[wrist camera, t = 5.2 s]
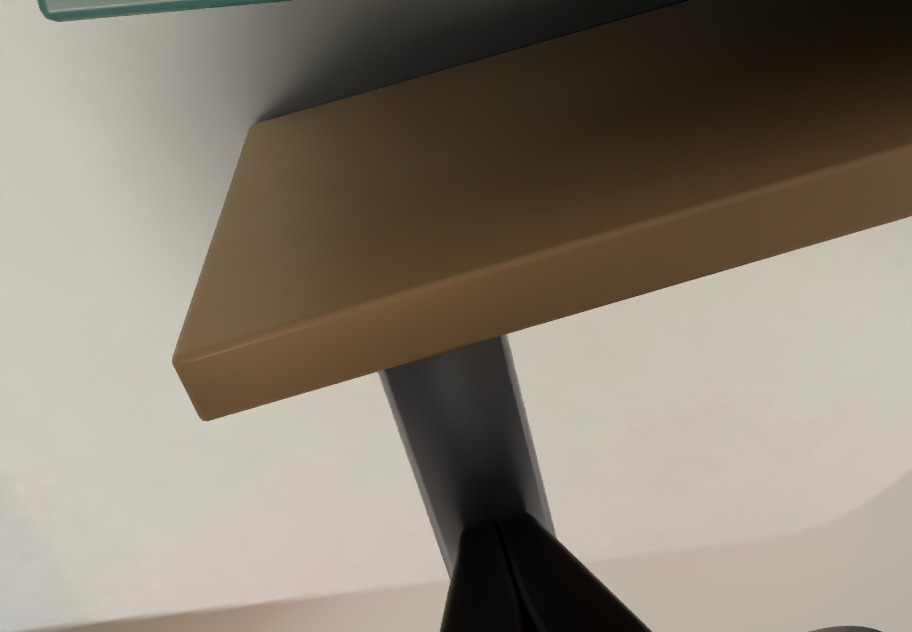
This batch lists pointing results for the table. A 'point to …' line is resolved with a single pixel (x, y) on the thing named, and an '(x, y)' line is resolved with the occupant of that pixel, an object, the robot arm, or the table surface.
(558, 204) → the wooden cabinet door
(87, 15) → the green cabinet
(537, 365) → the table surface
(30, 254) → the table surface
